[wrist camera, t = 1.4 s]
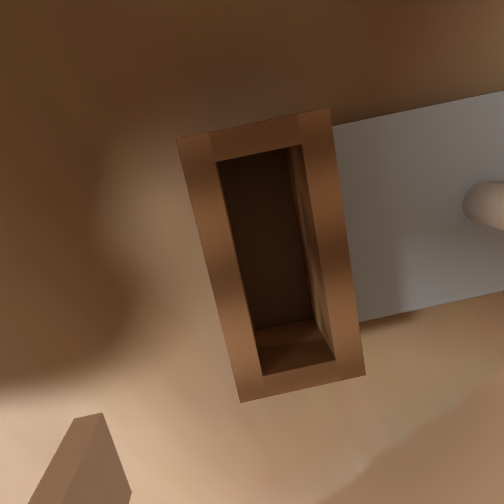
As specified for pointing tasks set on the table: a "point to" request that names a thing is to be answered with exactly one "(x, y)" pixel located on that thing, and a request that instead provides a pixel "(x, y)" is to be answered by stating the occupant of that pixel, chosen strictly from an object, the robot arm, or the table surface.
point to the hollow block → (313, 248)
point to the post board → (424, 204)
